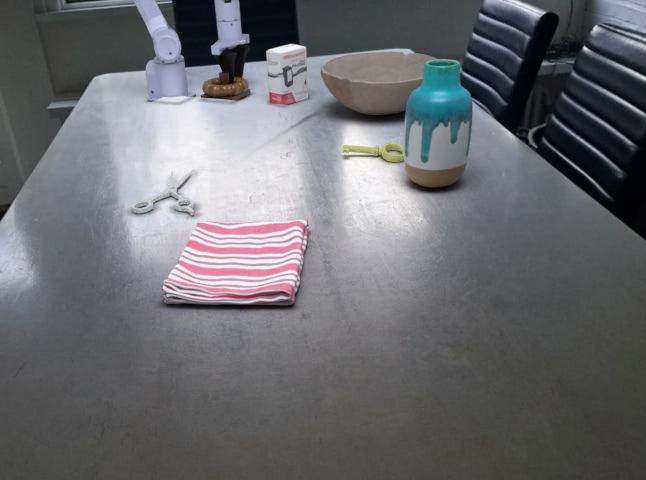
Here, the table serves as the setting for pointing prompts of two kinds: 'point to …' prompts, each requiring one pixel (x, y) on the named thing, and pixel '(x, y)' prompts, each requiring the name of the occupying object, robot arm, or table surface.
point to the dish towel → (239, 264)
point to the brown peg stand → (225, 81)
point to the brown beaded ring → (225, 87)
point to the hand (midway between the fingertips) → (234, 79)
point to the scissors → (169, 191)
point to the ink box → (287, 74)
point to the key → (378, 151)
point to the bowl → (375, 80)
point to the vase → (438, 126)
